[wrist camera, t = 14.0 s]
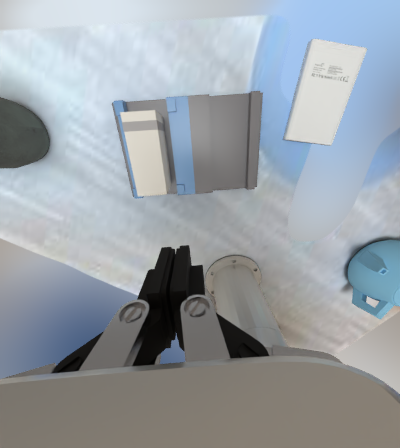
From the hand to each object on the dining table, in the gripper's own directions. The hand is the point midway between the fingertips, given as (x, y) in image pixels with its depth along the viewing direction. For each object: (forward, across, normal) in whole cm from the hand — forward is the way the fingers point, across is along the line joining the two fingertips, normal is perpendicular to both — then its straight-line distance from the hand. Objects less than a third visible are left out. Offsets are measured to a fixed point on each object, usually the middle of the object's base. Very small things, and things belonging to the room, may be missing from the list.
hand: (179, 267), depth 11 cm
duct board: (+23, -1, -7) cm, 24 cm away
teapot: (+26, -41, +21) cm, 52 cm away
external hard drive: (+24, -22, -12) cm, 35 cm away
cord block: (+22, +5, -7) cm, 24 cm away
